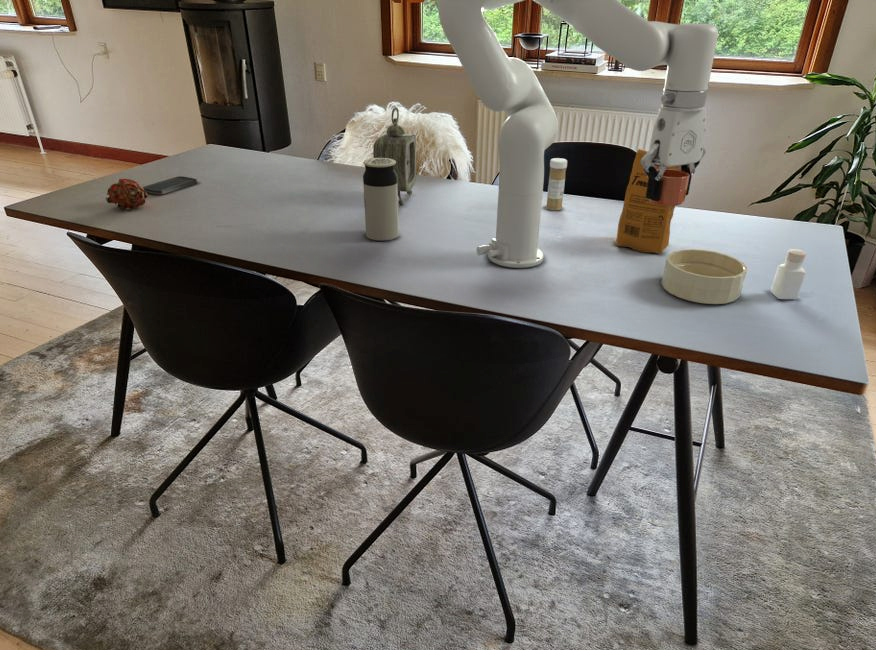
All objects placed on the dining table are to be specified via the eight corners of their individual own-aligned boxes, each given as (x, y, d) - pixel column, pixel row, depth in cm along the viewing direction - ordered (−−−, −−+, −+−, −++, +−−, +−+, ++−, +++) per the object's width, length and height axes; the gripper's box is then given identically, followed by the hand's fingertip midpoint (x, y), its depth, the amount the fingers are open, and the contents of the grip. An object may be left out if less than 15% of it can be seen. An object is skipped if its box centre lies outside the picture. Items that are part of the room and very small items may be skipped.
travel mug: (403, 232, 156) (401, 158, 147) (392, 243, 150) (389, 166, 140) (373, 229, 158) (369, 156, 149) (361, 239, 151) (356, 163, 142)
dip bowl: (666, 208, 120) (671, 179, 117) (640, 199, 125) (644, 171, 122) (691, 203, 123) (697, 174, 120) (665, 194, 128) (670, 167, 125)
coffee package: (623, 234, 158) (638, 144, 146) (673, 244, 152) (692, 151, 140) (609, 245, 151) (623, 151, 139) (660, 257, 145) (679, 160, 133)
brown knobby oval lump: (147, 217, 167) (116, 218, 172) (161, 192, 171) (130, 193, 175) (123, 197, 160) (91, 197, 165) (137, 171, 163) (106, 172, 168)
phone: (198, 179, 191) (159, 191, 179) (199, 182, 191) (160, 195, 180) (179, 175, 194) (139, 187, 182) (180, 179, 194) (140, 191, 182)
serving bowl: (703, 312, 120) (710, 283, 117) (645, 283, 132) (651, 256, 128) (755, 296, 127) (763, 269, 124) (696, 270, 138) (702, 244, 135)
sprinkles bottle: (553, 205, 178) (558, 156, 171) (565, 209, 175) (571, 160, 168) (542, 208, 176) (546, 159, 169) (554, 212, 173) (559, 162, 166)
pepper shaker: (787, 292, 129) (801, 248, 124) (797, 300, 126) (812, 255, 121) (768, 291, 129) (782, 248, 124) (778, 300, 125) (792, 255, 121)
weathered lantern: (406, 208, 173) (404, 112, 160) (374, 206, 174) (370, 111, 162) (416, 193, 186) (415, 103, 173) (386, 192, 187) (383, 102, 174)
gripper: (664, 106, 108) (648, 208, 117) (733, 99, 115) (712, 195, 124) (633, 101, 114) (620, 198, 123) (700, 94, 121) (683, 186, 130)
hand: (666, 195), depth 123 cm, fingers closed on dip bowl, 7 cm apart
